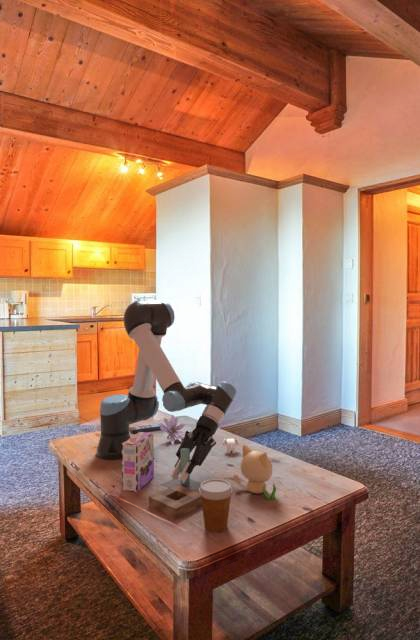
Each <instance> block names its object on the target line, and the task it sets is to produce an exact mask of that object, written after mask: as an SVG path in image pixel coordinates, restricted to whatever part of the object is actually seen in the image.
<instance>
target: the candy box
mask: <svg viewBox="0 0 420 640" xmlns="http://www.w3.org/2000/svg"><path fill="white" fill-rule="evenodd" d="M130 437H131V438H130V439H128V440H127V441H125V442H124V443H122V458H121V477H122V478H121V485H122V488H121V490H122V491H127V492H133V493H138V492H139V491H140V490H141V489H142V488H143V487H144V486H146V484H148V482H150V481H151V479H153V478H154V477H155V469H154V468H155V463H154V461H155V460H154V459H155V458H154V457H155V456H154V432H145V431H144V432H143V431H138V432H137V433H136V434H134V435H133V436H130Z"/></svg>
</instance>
